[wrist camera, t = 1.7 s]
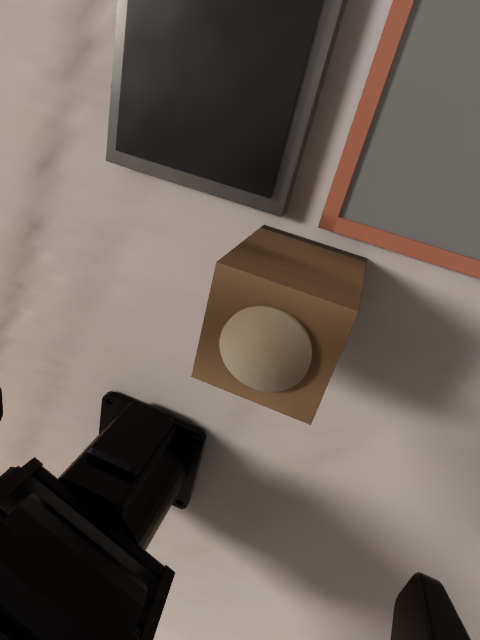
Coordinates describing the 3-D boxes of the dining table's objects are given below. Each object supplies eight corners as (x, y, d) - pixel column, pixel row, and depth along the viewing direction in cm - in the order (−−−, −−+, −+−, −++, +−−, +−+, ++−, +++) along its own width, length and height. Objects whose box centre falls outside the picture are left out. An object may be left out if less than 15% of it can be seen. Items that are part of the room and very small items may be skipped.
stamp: (330, 348, 19) (309, 430, 14) (240, 314, 20) (187, 381, 15) (367, 258, 17) (358, 315, 12) (264, 224, 18) (213, 264, 12)
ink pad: (285, 213, 17) (279, 218, 16) (116, 159, 18) (101, 161, 18) (354, -29, 13) (352, -41, 12) (135, -74, 15) (118, -88, 14)
